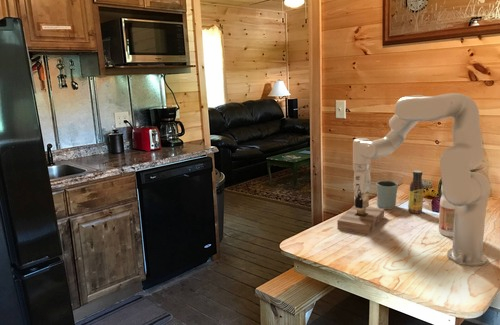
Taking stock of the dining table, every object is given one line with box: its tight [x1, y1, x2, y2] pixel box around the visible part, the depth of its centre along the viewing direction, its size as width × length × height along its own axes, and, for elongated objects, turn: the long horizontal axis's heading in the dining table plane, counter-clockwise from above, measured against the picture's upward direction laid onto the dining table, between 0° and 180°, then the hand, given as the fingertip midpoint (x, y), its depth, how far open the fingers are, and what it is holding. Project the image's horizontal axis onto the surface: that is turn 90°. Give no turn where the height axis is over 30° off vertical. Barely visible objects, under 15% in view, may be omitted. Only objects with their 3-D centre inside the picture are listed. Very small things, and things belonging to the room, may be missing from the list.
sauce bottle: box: [407, 170, 425, 214], centre depth 187 cm, size 7×6×20 cm
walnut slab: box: [336, 205, 385, 235], centre depth 180 cm, size 22×14×4 cm, turn 146°
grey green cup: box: [376, 180, 399, 210], centre depth 198 cm, size 10×10×12 cm
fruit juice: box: [438, 185, 455, 238], centre depth 161 cm, size 9×9×28 cm
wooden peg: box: [353, 190, 370, 214], centre depth 178 cm, size 6×6×10 cm
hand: (361, 204), depth 178 cm, fingers closed on wooden peg, 6 cm apart
